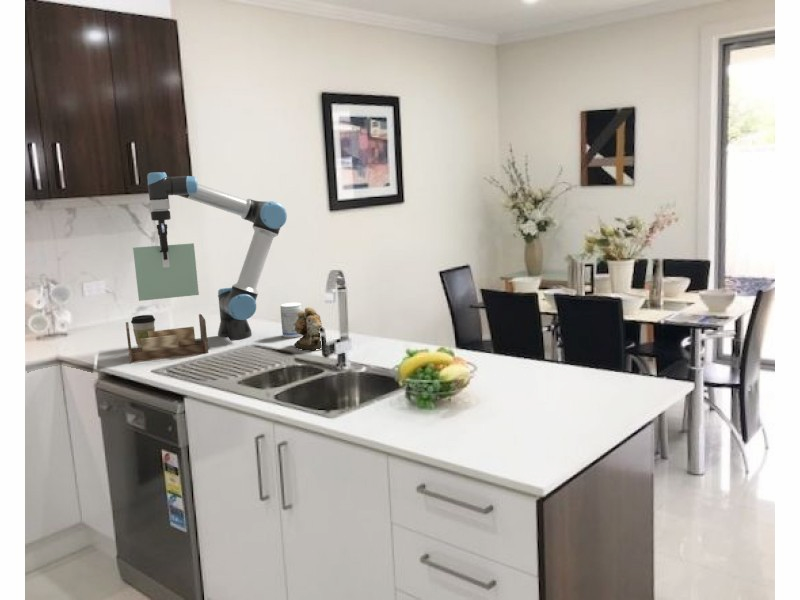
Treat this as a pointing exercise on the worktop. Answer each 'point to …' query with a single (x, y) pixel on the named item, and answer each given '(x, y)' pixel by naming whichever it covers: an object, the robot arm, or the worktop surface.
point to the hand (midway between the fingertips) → (166, 267)
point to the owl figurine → (308, 329)
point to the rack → (180, 351)
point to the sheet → (166, 272)
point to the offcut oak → (183, 334)
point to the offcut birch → (159, 343)
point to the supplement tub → (290, 319)
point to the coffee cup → (142, 327)
